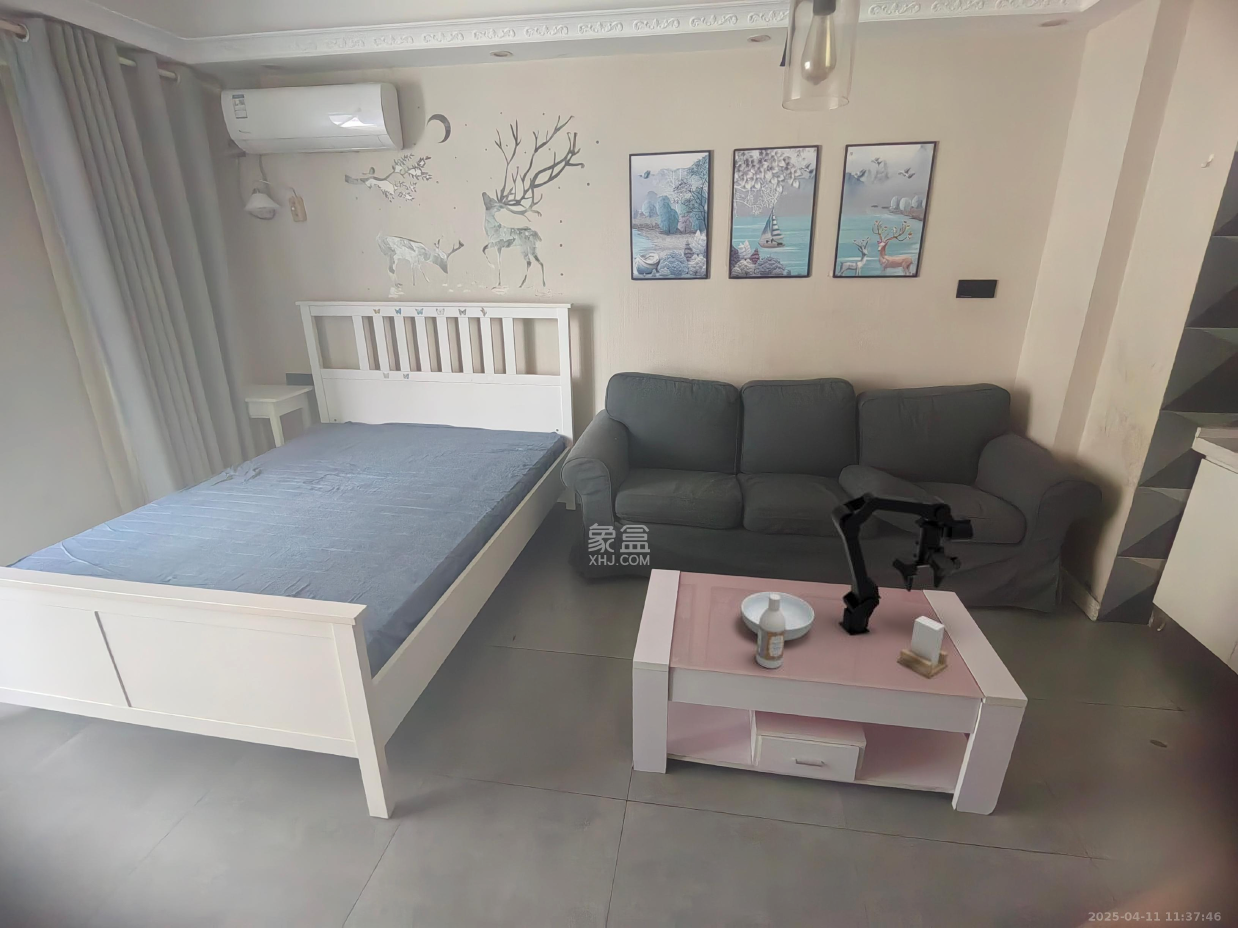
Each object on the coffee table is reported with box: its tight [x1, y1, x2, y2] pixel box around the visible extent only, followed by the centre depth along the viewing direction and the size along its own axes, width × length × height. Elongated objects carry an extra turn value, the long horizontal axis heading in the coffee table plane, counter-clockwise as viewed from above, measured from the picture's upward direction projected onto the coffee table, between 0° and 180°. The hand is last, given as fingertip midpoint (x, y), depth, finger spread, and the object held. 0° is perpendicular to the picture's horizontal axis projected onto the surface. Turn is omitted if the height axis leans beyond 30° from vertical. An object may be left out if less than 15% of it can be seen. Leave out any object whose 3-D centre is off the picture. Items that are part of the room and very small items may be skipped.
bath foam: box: [755, 594, 786, 669], centre depth 164 cm, size 7×7×20 cm
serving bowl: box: [740, 591, 815, 641], centre depth 181 cm, size 21×21×7 cm
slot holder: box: [896, 648, 949, 679], centre depth 166 cm, size 9×9×4 cm
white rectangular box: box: [909, 615, 946, 668], centre depth 164 cm, size 6×4×12 cm, turn 35°
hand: (922, 589), depth 179 cm, fingers open, 9 cm apart
